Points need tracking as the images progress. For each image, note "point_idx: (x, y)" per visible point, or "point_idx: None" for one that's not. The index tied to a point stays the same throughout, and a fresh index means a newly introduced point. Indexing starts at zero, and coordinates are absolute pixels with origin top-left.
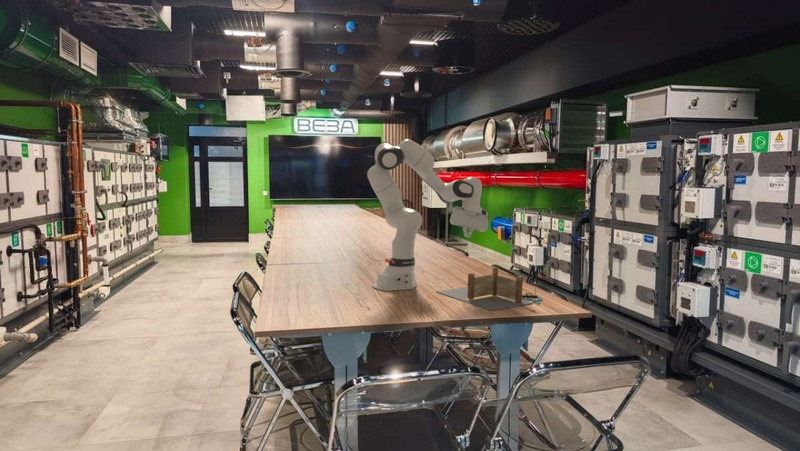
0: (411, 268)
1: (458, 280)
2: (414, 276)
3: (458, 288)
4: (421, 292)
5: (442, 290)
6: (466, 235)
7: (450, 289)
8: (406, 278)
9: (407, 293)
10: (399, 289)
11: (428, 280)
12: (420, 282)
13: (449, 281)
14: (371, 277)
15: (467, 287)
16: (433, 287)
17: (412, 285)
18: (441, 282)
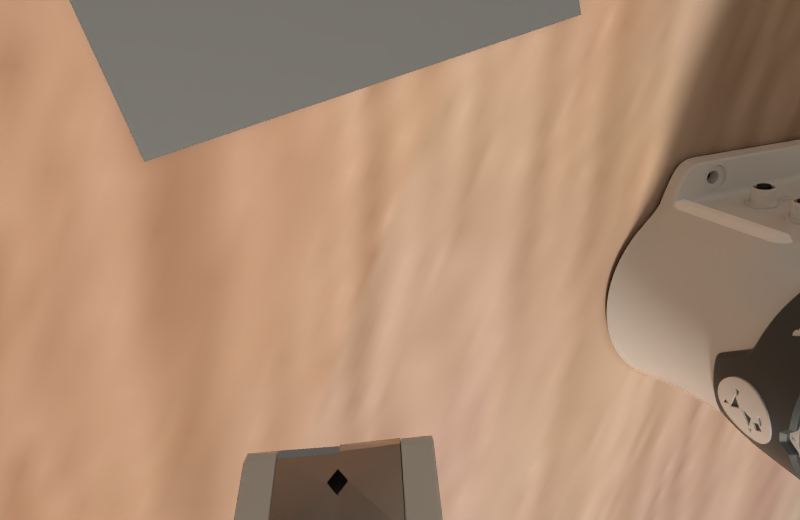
0: (792, 269)
1: (217, 428)
2: (692, 273)
3: (346, 83)
4: (679, 34)
5: (516, 33)
6: (407, 446)
7: (433, 58)
8: (774, 213)
9: (780, 25)
10: (783, 142)
11: (460, 433)
12: (542, 371)
13: (310, 394)
14: (751, 515)
15: (242, 109)
16: (521, 194)
17: (687, 200)
18: (390, 362)
